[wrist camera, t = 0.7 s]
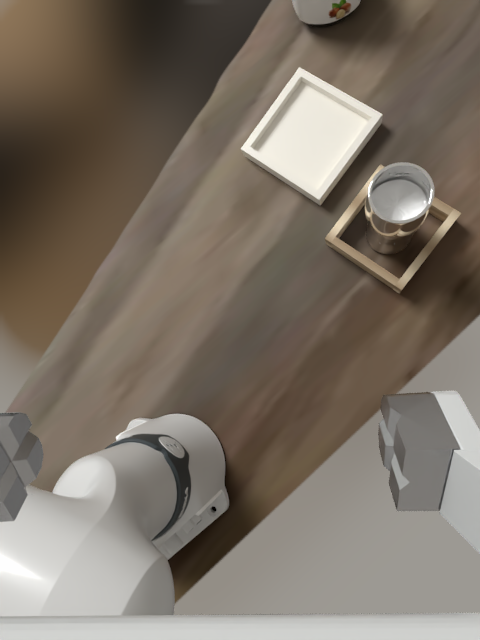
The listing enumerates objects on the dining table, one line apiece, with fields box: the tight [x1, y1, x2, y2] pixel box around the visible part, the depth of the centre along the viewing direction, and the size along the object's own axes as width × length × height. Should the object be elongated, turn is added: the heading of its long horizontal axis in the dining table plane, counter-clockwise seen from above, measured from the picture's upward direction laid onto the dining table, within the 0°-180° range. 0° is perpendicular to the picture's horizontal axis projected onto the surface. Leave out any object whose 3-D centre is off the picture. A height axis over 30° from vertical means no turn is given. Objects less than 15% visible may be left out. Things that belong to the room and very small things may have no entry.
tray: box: [241, 67, 383, 206], centre depth 63 cm, size 14×14×2 cm
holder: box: [325, 165, 461, 293], centre depth 59 cm, size 12×12×3 cm
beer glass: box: [365, 162, 434, 254], centre depth 53 cm, size 7×7×15 cm
